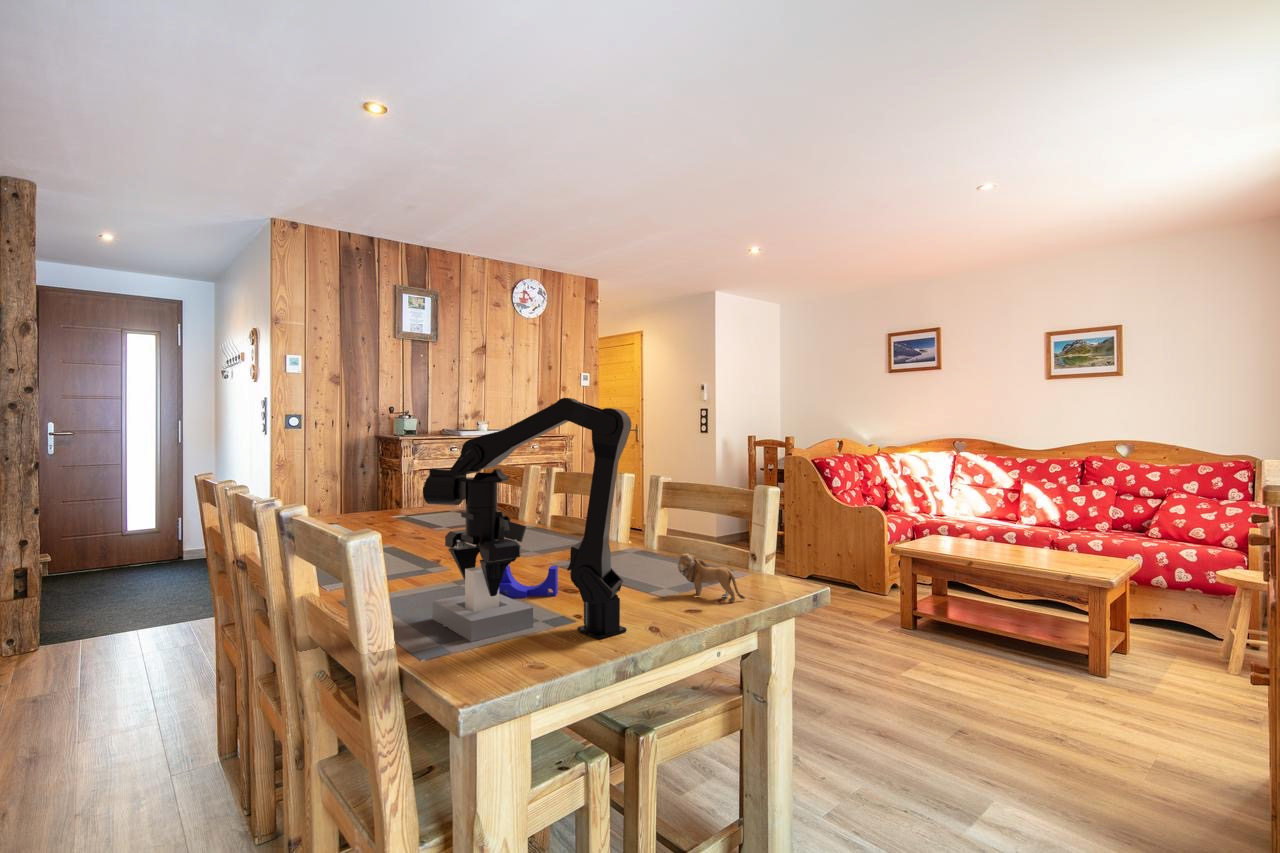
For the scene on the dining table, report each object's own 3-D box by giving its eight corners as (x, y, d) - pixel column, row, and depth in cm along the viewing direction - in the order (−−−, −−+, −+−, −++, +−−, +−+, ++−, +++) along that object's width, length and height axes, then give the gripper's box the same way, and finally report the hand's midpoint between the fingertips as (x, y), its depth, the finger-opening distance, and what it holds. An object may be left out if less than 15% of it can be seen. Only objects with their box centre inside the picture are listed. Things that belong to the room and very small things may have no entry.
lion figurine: (674, 597, 135) (674, 555, 135) (681, 591, 140) (681, 550, 140) (742, 604, 130) (743, 560, 130) (747, 597, 135) (747, 555, 135)
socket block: (532, 627, 115) (533, 606, 115) (471, 641, 107) (471, 619, 107) (490, 607, 127) (490, 588, 127) (432, 619, 119) (432, 599, 119)
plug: (499, 616, 117) (499, 568, 117) (474, 622, 114) (474, 572, 114) (489, 612, 120) (489, 564, 120) (465, 617, 117) (465, 568, 116)
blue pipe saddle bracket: (497, 598, 134) (497, 570, 134) (503, 592, 139) (503, 565, 139) (554, 599, 134) (554, 570, 134) (557, 593, 138) (557, 565, 138)
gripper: (546, 507, 115) (546, 593, 115) (496, 498, 129) (496, 574, 129) (490, 513, 108) (490, 604, 108) (444, 502, 122) (443, 583, 122)
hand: (481, 590), depth 117 cm, fingers open, 9 cm apart
